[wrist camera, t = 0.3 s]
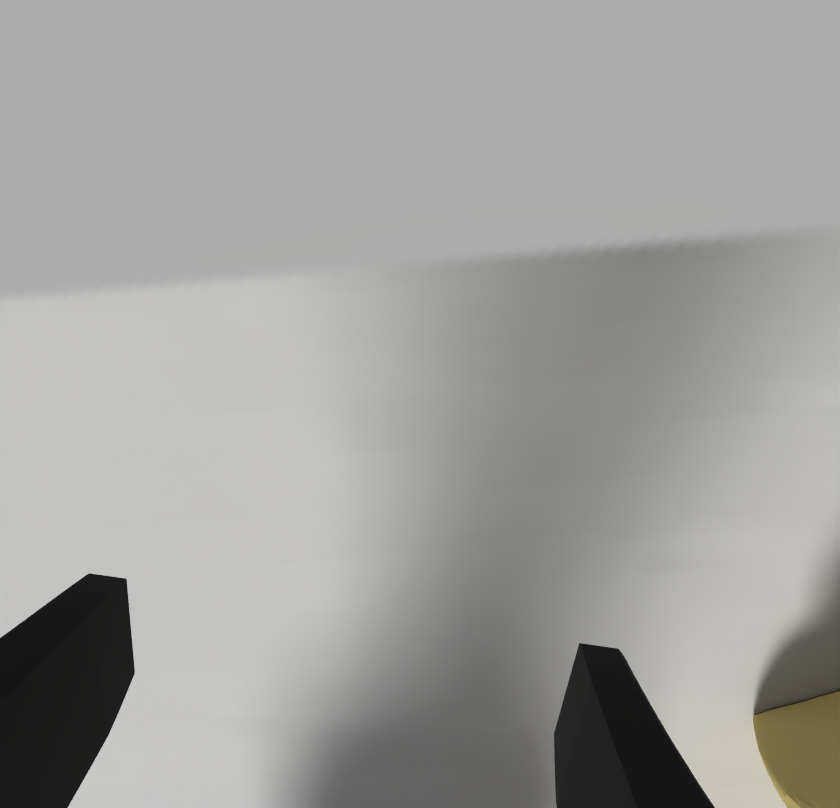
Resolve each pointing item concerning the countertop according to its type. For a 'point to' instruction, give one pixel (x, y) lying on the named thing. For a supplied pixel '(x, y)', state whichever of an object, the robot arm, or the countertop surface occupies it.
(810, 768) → the cheese
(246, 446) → the countertop surface
